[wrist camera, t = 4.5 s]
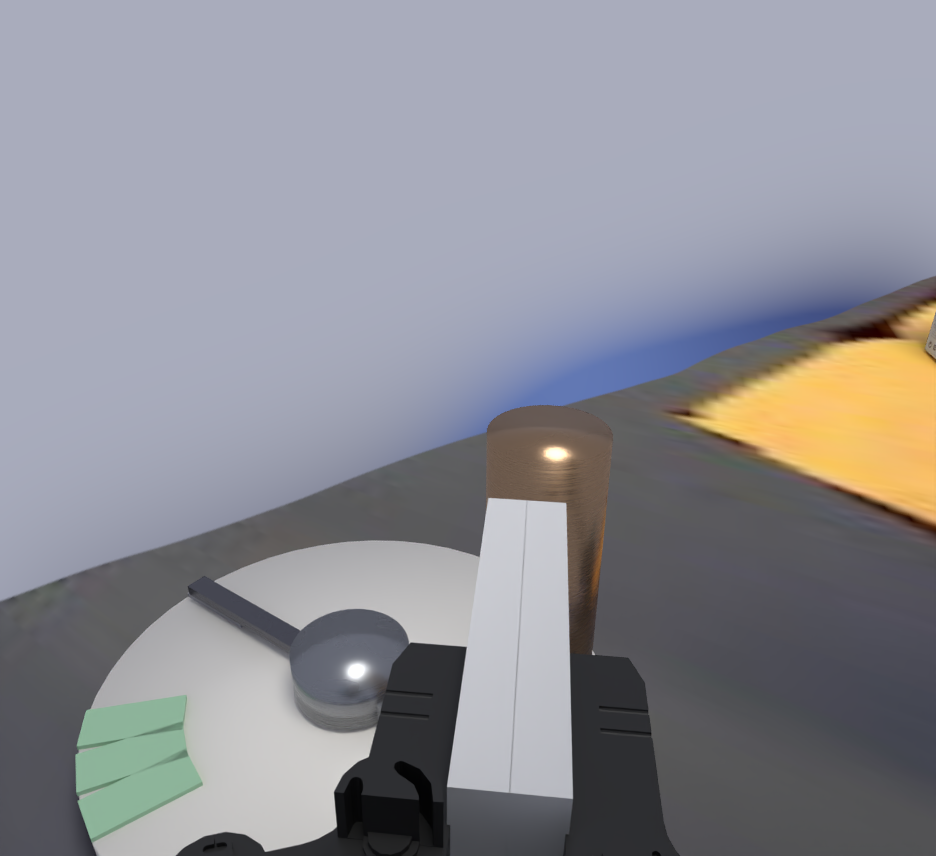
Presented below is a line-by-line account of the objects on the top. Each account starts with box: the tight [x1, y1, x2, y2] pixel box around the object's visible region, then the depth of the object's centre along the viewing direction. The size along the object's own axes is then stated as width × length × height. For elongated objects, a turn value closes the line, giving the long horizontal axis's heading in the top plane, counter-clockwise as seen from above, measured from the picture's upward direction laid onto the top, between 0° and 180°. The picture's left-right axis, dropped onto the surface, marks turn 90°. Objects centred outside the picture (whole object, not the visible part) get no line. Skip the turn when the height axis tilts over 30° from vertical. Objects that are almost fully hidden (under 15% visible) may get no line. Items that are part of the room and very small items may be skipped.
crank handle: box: [188, 405, 613, 729], centre depth 31 cm, size 21×5×15 cm, turn 54°
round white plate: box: [76, 541, 595, 856], centre depth 35 cm, size 22×22×2 cm
